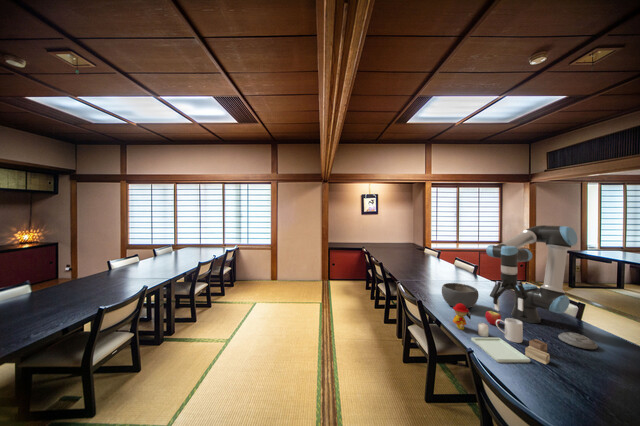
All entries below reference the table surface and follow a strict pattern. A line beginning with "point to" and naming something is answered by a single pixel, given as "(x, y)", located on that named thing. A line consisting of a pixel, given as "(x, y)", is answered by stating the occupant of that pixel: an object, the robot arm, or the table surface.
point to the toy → (461, 315)
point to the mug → (513, 330)
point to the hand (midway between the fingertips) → (508, 310)
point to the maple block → (537, 355)
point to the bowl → (459, 294)
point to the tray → (500, 350)
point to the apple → (493, 317)
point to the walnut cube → (538, 345)
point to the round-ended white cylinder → (483, 329)
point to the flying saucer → (577, 340)
